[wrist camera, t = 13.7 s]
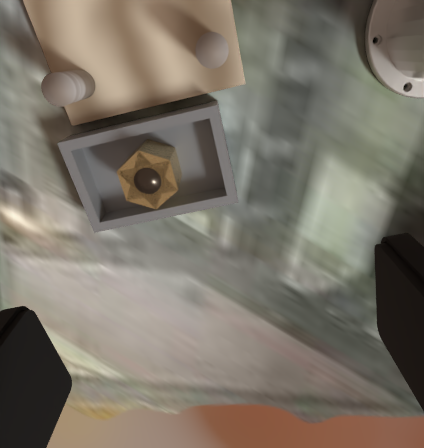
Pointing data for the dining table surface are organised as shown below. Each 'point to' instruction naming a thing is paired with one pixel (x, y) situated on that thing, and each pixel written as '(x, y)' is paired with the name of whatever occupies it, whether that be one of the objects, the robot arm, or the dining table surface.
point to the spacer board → (134, 53)
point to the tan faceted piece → (150, 174)
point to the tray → (128, 142)
